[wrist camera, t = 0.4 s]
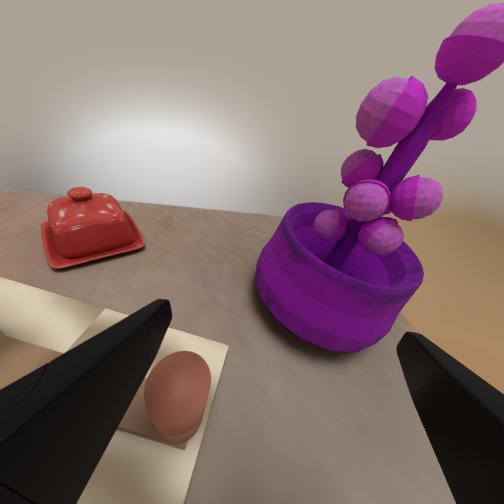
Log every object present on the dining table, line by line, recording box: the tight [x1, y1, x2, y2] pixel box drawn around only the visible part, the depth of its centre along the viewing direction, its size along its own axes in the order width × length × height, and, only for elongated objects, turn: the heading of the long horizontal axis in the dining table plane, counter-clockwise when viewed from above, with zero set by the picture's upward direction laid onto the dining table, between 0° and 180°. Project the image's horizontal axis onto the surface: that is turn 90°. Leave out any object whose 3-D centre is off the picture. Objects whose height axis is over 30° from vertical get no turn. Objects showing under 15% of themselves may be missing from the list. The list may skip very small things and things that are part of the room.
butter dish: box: [41, 187, 145, 269], centre depth 29 cm, size 12×12×8 cm
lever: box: [0, 330, 211, 450], centre depth 13 cm, size 22×5×9 cm, turn 79°
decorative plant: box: [255, 3, 504, 352], centre depth 22 cm, size 19×19×30 cm
